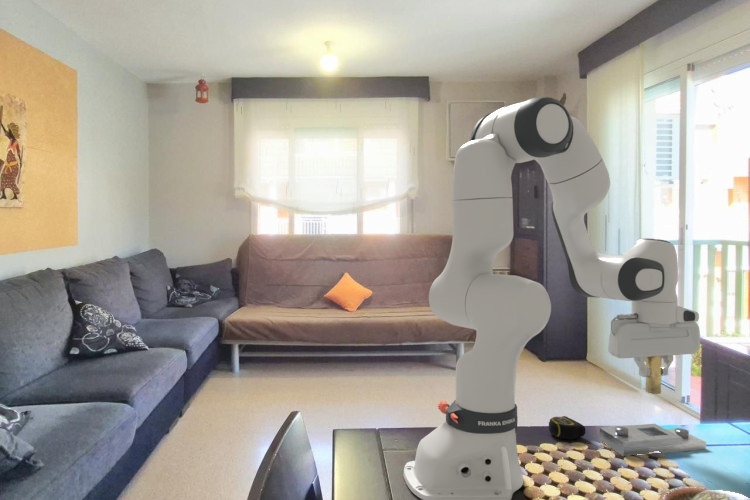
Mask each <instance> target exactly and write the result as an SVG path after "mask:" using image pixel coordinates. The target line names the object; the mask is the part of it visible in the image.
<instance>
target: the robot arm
mask: <svg viewBox="0 0 750 500" xmlns="http://www.w3.org/2000/svg"><path fill="white" fill-rule="evenodd" d="M530 161H536V163H537V164H538V165H539V166H540V169H541V170H542V173H543V175H544V178H545V179H546V182H547V185H548V187H549V189H550V191H551V196H552V201H551V209H550V210H551V215H552V219H553V220H552V221H553V224H554V226H555V230H556V232H557V236H558V238H559V241H560V244H561V246H562V250H563V253H564V256H565V260H566V263H567V268H568V269H567V270H568V278H569V281H570V284H571V286H572V288H573V290H574V291H575V292H576V293H577V294H578V295H579V296H582V297H584V298H601V299H602V298H604V299H610V300H617V301H623V302H631V313H627V314H622V313H621V314H616V316H614V317H613V319H612V320H611V321H610V332H609V335H608V337H609V338H608V346H607V347H608V353H609V354H610V355H611V356H612V357H615V358H618V359H633V360H634V362H635V363H636V365H637V367H638V375H639V376H640V377H642V378H646V377H649V376H650V375H651V374H650V372H651V369H649V368H647V367H646V358H647V357H652V356H662V360H661V377H662V376H668V375H669V368H670V366H671V365H672V363H673V361H674V356H680V355H696V354H697V352H698V351H699V350H700V346H701V334H700V327H699V324H698V323H697V322H698V321H699V318H700V314H699V312H697V311H695V310H692V309H690V308H689V309H688V308H685V307H682V306H679V305H678V304H679V299H678V295H677V292H676V291H677V290H676V289H677V285H678V281H679V266H678V263H679V262H678V256H677V250H676V248H675V245H674V244H673V243H671V242H670V241H668V240H664V239H660V238H659V239H657V238H646V237H645V238H639V239H636V240H635V242H634V245H633V246H632V247H631V248H630V249H629V250H627V251H625V252H623V253H621V254H603V253H601V252H598V251H597V250H596V249H594V247H593V246H592V242H591V239H590V236H589V232H588V230H587V227H586V224H585V215H586V214H587V213H589V212H590V211H591V210H593V209H595V208H596V207H597V206H598V205H600V204H601V202H603V200H604V199H605V198H606V196H607V194H608V193H609V191H610V187H611V177H610V175H609V170H608V168H607V166H606V163H605V161H604V159H603V157H602V155H601V152H600V151H599V149H598V147H597V144H596V143H595V141H594V140H593V138H592V137H591V135H590V133H589V132H588V131H587V129H586V128H585V126H584V125H583V124H582V122H581V121H580V120H579V119H578V118H577V117H574V116H572V115H571V114H570V112H569V111H568V109H567V108H566V107H565V105H563V104H562V103H561V102H560V101H559V100H558V99H555V98H553V97H550V96H549V97H548V96H538V97H532V98H529V99H527V100H525V101H520V102H516V103H511V104H508V105H505V106H504V107H501V108H499V109H497V110H494V111H493V112H490V113H488V114H485V115H484V116H483V117H482V118H480V119H479V120H478V122H477V123H476V124H475V125H474V127H473V130H472V132H471V134H470V139H469V141H468V142H466V143H465V144H463V145H461V146H460V147H459V148H458V150H457V151H456V154H455V157H454V164H453V172H452V181H451V183H452V184H451V201H452V202H451V203H452V239H451V240H452V241H451V248H450V252H449V256H448V259H447V262H446V265H445V267H444V268H443V270H442V272H441V273H440V274H439V276H437V277H436V278H434V281H433V282H432V284H431V285H430V288H429V292H428V303H429V308H430V310H431V312H432V313H433V315H434V316H436V317H437V318H439V320H440V319H441V320H442V321H444V322H447V323H448V324H450V325H452V326H456V327H460V328H461V327H462V328H464V329H465V328H467V329H471V330H475V332H476V336H475V341H474V345H473V347H472V349H471V350H469V351H467V352H465V353H464V354H462V355H461V356H460V357H458V359H457V361H456V363H455V399H454V401H452V402H451V404H449V403H448V402H447V401H445V400H441V401H439V403H438V404H437V407H438V410H439V411H440V412H441V413H442V414H444V415H445V421H443V422H442V423H441V424H440V425H439V426H437V427H436V428H435V429H434V430H432V431H431V432H429V433H428V434H427V435H425V436H424V437H423V438H421V439H420V441H419V443H418V445H417V448H416V452H415V460H412V461H411V460H410V461H408V462H406V463H405V465H404V468H403V479H404V482H405V484H406V486H407V487H408V489H409V490H410V491H411V492H412V493H413V494H414V495H415V496H416V497H418V498H419V499H420V500H512V498H513V495H514V493H515V492H516V491H518V490H519V489H521V488H522V487H523V485H524V475H523V474H522V470H521V465H520V461H519V455H518V448H517V432H518V420H519V419H518V418H519V417H518V406H517V404H516V381H517V379H516V378H517V369H518V363H519V359H520V357H521V354H522V353H523V350H524V348H525V347H526V345H527V343H529V341H531V339H533V338H534V337H535V336H537V335H538V334H540V333H541V332H542V331H543V330H544V329H545V327H546V326H547V324H548V322H549V320H550V318H551V317H550V316H551V313H552V303H551V299H550V295H549V293H548V291H547V289H546V288H545V286H544V285H543V284H541V283H540V282H538V281H534V280H532V279H529V278H526V277H523V276H519V275H512V274H500V273H494V271H493V270H494V265H495V261H496V258H497V256H498V254H499V253H501V252H502V251H503V250H505V249H506V248H508V247H509V246H510V245H511V243H512V241H513V238H514V204H513V201H514V200H513V186H512V173H513V170H514V168H515V165H516V164H522V163H525V162H530Z"/></svg>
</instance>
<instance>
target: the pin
mask: <svg viewBox="0 0 750 500" xmlns="http://www.w3.org/2000/svg"><path fill="white" fill-rule="evenodd" d="M662 359H663V358H662V356H652V357H647V358H646V362H645V365H646V367H647V368H649V369H651V372H650V374H651V375H650V376H649V377H645V392H646V393H647V394H653V395H661V394H662V376H661V362H662Z"/></svg>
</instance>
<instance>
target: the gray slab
mask: <svg viewBox="0 0 750 500" xmlns="http://www.w3.org/2000/svg"><path fill="white" fill-rule="evenodd" d="M599 442H600V443H602V442H604V443H606V444H607V445H608V446H610V448H609V449H611V448H612V449H613V450H612V449H611V450H612V451H614V450H615V451H614V452H616V453H617V452H618V453H617V454H619V455H620V454H621V456H622V457H624V456H625V457H628V456H627V455H636V456H638V455H637V454H646V453H649V452H654V451H659V452H662V453H661V454H667V453H678V452H689V451H699V450H707V441H705V440H703V439H701V438H699V437H696V436H694V435H692V434H691V433H689V430H687V429H684V428H680V427H675V428H664V427H662V426H660V425H658V424H656V423H648V424H646V423H645V424H634V425H632V424H631V425H621V426H620V425H619V426H608V427H599ZM608 446H607V447H608Z"/></svg>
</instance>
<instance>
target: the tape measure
mask: <svg viewBox="0 0 750 500" xmlns="http://www.w3.org/2000/svg"><path fill="white" fill-rule="evenodd" d="M548 431H549V433H550V434H551V435H552V436H555V437H557V438H559V439H562V440H563V439H565V440H575V439H578V438H581V437H584V436H585V435H586V427H585V426H584V425H583V424H582V423H579V422H578V421H576V420H574V419H572V418H570V417H568V416H565V415H563V416H553V417H551V418H550V419H549V422H548Z"/></svg>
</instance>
